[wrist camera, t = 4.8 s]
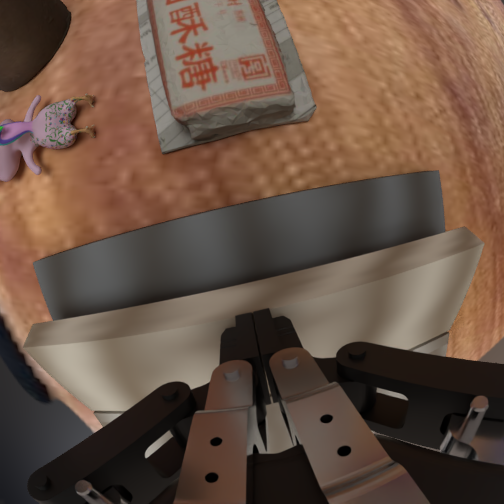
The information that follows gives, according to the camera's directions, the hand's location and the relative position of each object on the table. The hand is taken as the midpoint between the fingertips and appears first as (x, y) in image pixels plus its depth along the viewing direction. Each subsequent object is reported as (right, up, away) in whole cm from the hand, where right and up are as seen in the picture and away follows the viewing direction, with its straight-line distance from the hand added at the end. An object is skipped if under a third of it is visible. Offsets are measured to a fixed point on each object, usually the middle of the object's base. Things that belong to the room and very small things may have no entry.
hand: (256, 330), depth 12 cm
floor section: (+1, -3, +7) cm, 8 cm away
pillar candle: (-20, +22, +1) cm, 30 cm away
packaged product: (-3, +19, +3) cm, 20 cm away
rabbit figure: (-18, +12, +3) cm, 22 cm away
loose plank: (0, -2, +4) cm, 4 cm away
